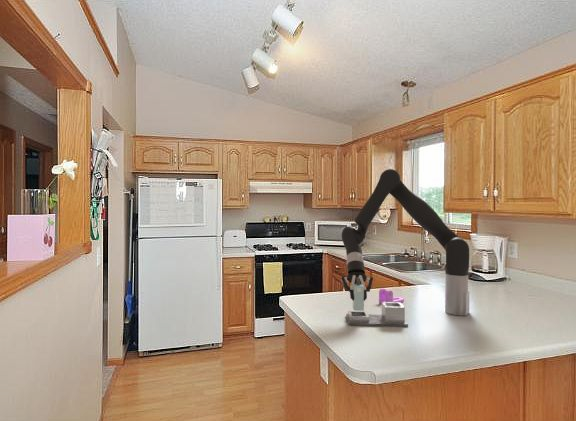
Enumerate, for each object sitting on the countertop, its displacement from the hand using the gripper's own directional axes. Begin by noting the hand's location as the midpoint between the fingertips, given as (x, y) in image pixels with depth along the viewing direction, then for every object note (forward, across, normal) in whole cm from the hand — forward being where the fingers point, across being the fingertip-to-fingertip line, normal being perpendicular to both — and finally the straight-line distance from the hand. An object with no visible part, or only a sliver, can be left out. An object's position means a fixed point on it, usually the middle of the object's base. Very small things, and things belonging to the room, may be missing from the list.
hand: (358, 299), depth 147 cm
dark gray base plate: (+5, +7, +8) cm, 12 cm away
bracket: (-16, +21, +30) cm, 40 cm away
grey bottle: (+2, 0, +5) cm, 5 cm away
